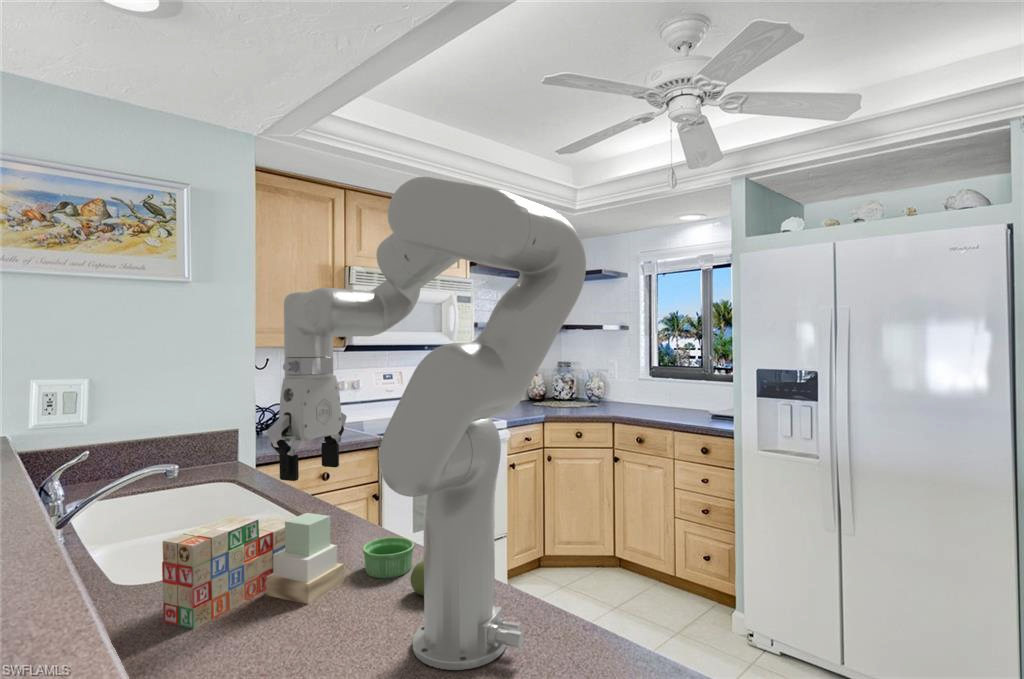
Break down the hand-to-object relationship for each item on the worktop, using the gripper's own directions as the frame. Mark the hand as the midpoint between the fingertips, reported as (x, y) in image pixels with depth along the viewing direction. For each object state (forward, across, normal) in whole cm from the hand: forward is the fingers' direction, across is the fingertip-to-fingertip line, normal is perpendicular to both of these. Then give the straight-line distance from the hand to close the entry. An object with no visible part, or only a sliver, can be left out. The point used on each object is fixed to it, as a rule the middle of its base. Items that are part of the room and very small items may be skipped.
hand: (310, 473), depth 92 cm
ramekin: (+20, +12, -7) cm, 24 cm away
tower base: (+20, +1, +2) cm, 20 cm away
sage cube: (+13, +1, +2) cm, 13 cm away
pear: (+20, +6, -20) cm, 29 cm away
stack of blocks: (+20, -5, +11) cm, 23 cm away
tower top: (+16, 0, +2) cm, 16 cm away
